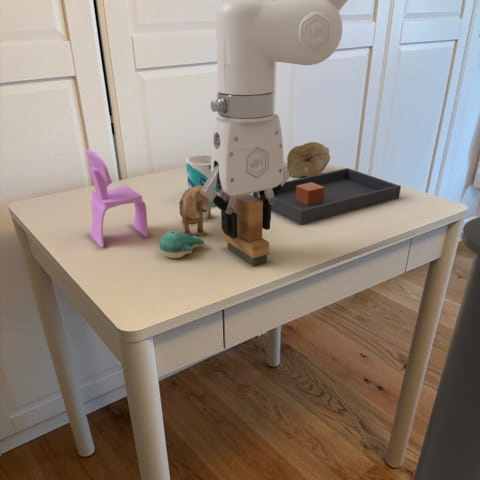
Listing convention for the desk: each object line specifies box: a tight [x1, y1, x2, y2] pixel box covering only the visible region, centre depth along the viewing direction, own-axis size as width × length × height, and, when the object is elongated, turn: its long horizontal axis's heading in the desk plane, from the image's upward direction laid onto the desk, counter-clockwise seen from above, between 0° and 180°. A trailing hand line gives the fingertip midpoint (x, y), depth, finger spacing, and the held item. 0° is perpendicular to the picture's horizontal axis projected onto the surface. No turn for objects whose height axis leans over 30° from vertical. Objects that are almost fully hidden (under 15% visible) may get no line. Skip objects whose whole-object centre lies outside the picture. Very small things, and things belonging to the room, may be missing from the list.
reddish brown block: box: [295, 182, 325, 206], centre depth 98 cm, size 4×4×3 cm
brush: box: [225, 193, 270, 267], centre depth 77 cm, size 8×3×10 cm, turn 33°
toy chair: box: [85, 148, 149, 249], centre depth 82 cm, size 8×9×15 cm
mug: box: [185, 153, 221, 208], centre depth 101 cm, size 8×12×8 cm
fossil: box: [286, 141, 331, 178], centre depth 115 cm, size 9×4×10 cm
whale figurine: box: [158, 230, 205, 259], centre depth 80 cm, size 6×7×4 cm
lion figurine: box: [178, 185, 213, 237], centre depth 87 cm, size 15×5×9 cm, turn 2°
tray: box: [252, 167, 402, 226], centre depth 100 cm, size 26×16×3 cm, turn 123°
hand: (246, 230), depth 77 cm, fingers open, 5 cm apart
